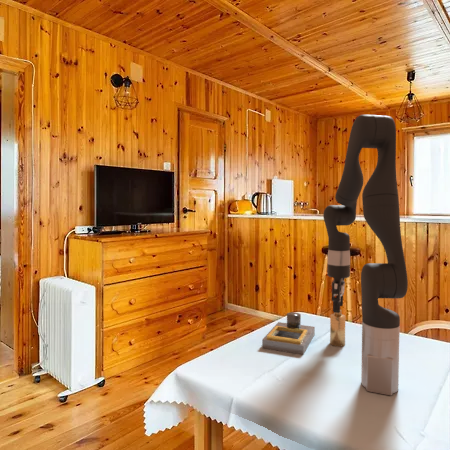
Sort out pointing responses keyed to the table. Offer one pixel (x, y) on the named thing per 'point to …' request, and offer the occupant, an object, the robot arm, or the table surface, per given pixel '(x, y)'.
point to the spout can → (337, 329)
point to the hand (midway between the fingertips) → (338, 308)
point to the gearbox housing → (289, 335)
